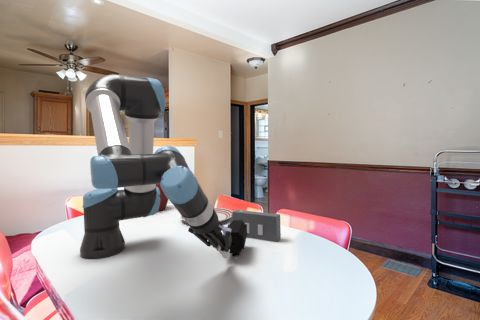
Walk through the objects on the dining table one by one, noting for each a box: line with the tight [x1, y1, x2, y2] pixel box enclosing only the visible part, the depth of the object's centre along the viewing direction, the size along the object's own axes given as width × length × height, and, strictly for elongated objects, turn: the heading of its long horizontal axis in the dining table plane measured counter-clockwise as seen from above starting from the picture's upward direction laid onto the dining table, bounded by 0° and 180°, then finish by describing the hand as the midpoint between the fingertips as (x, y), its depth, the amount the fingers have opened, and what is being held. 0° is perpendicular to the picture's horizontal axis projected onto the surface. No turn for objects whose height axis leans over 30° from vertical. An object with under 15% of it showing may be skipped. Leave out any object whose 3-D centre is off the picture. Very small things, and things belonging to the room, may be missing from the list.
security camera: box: [224, 220, 248, 257], centre depth 98 cm, size 7×18×10 cm, turn 174°
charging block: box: [231, 209, 282, 243], centre depth 114 cm, size 4×20×10 cm, turn 60°
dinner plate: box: [180, 207, 234, 223], centre depth 143 cm, size 27×27×3 cm
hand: (226, 254), depth 87 cm, fingers closed
